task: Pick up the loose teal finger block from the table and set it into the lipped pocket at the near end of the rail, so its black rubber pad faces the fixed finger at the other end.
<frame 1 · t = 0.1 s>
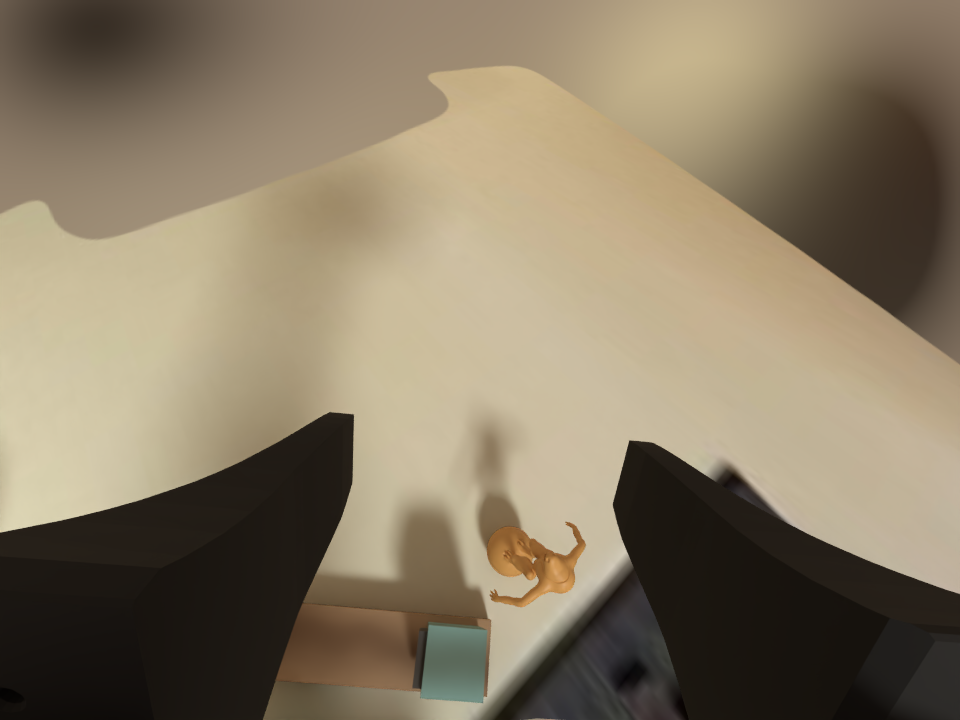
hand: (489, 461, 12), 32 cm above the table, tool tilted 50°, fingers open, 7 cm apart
rail: (337, 642, 36), on the table
figurine: (513, 563, 40), on the table
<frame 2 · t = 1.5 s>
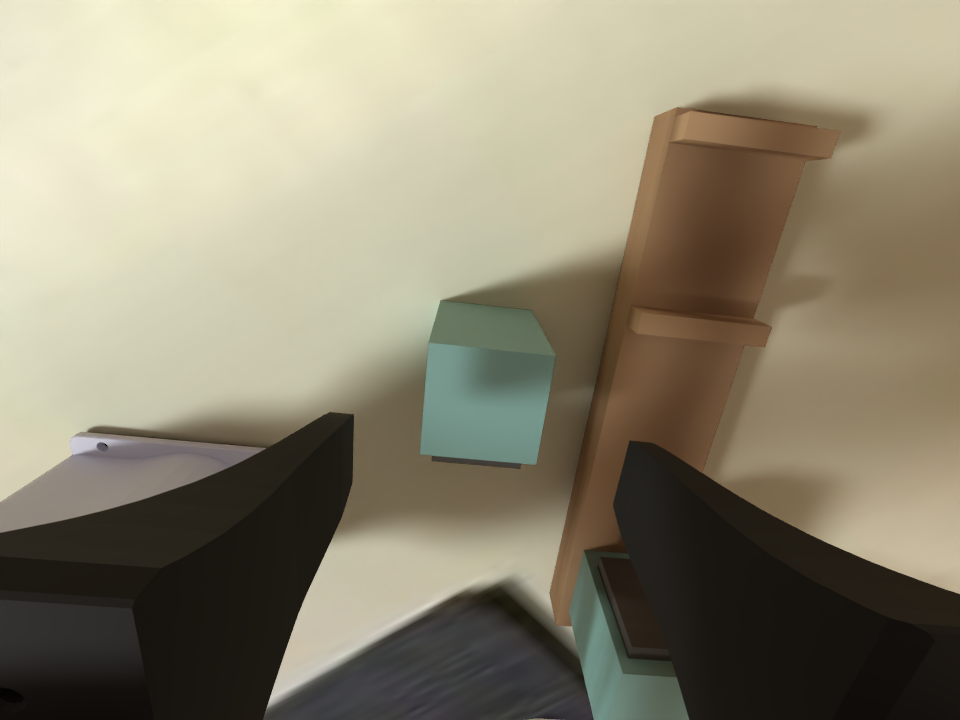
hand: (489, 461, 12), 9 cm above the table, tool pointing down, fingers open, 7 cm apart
finger block: (481, 348, 20), on the table
rail: (643, 405, 21), on the table
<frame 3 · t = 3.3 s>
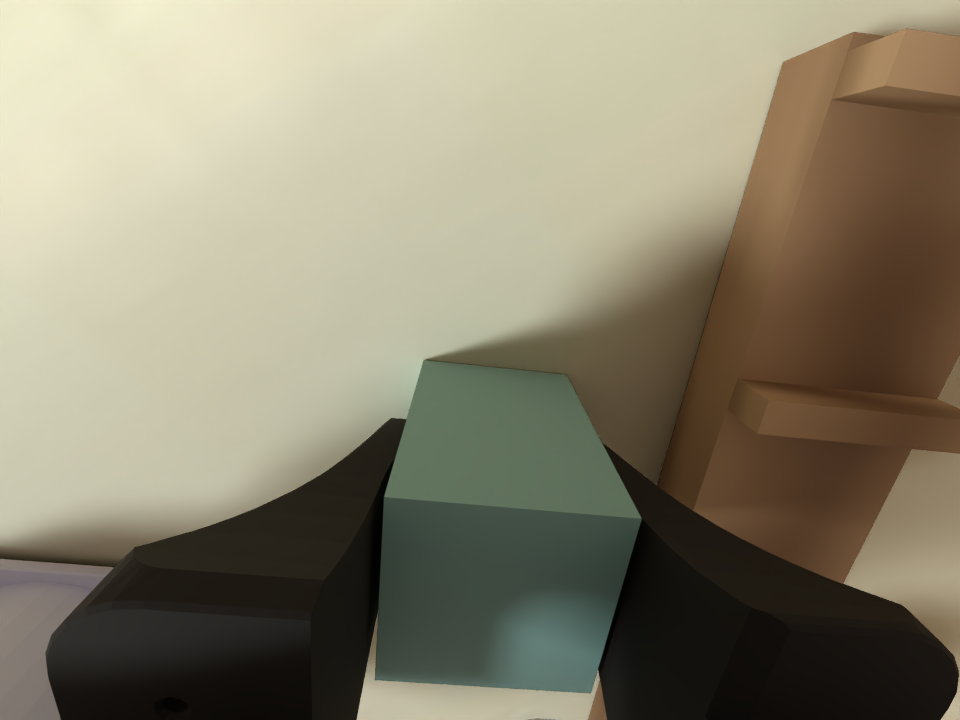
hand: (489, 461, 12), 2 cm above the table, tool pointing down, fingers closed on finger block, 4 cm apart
finger block: (486, 430, 13), on the table, touching gripper
rail: (728, 509, 14), on the table
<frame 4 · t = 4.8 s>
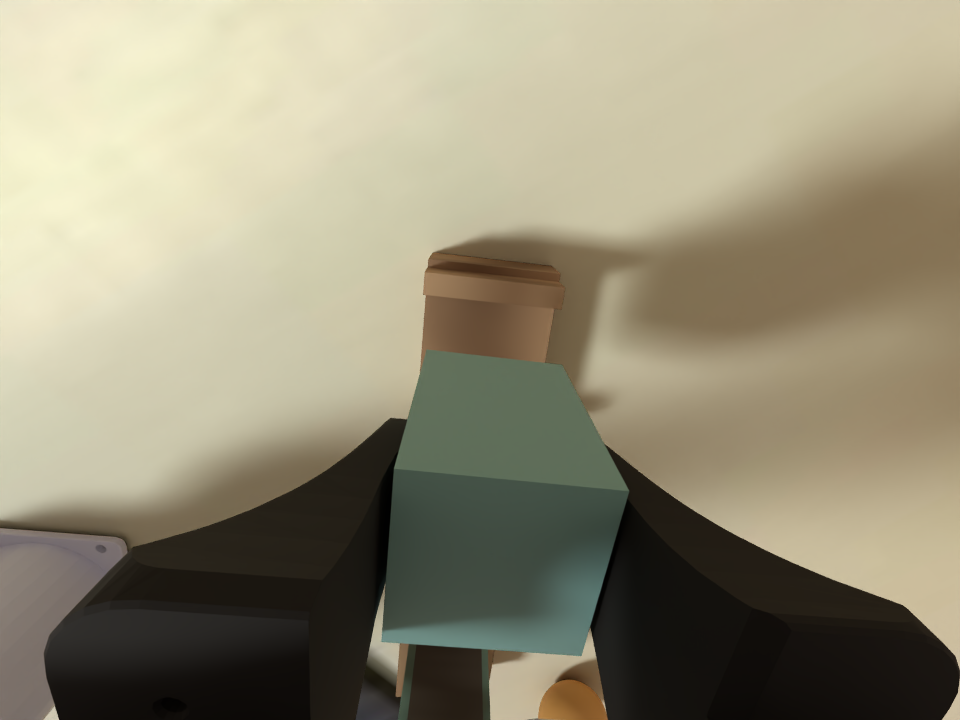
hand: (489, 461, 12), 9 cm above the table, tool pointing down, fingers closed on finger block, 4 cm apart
finger block: (485, 417, 14), point 7 cm above the table, touching gripper
rail: (463, 497, 23), on the table
figurine: (551, 690, 28), on the table
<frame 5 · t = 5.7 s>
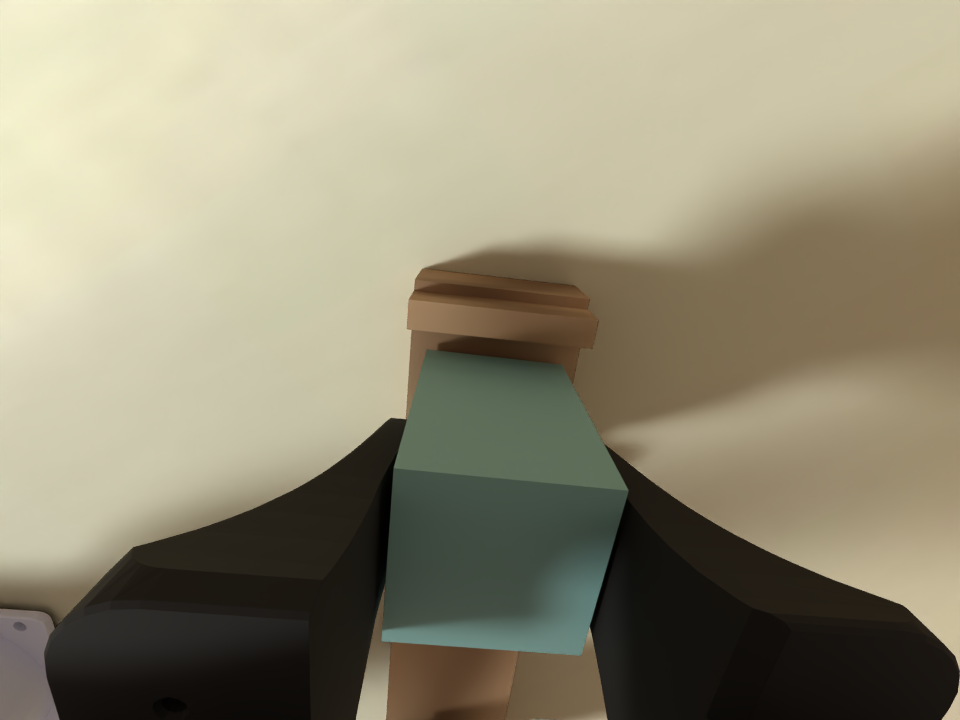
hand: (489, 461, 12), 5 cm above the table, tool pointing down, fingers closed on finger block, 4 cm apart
finger block: (486, 417, 14), point 2 cm above the table, touching gripper
rail: (462, 564, 19), on the table
when the fingers open (5 cm above the table, at t = 6.3 s): finger block stays where it is, resting on rail.
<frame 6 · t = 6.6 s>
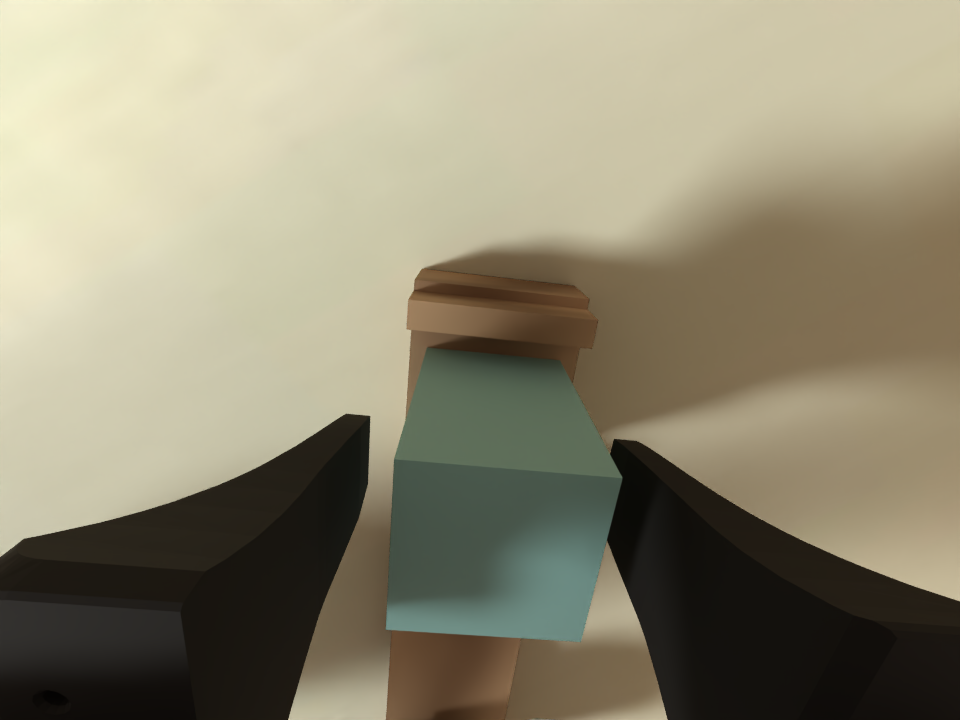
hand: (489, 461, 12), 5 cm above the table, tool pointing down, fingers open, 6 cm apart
finger block: (486, 413, 14), point 2 cm above the table, touching rail
rail: (461, 564, 19), on the table
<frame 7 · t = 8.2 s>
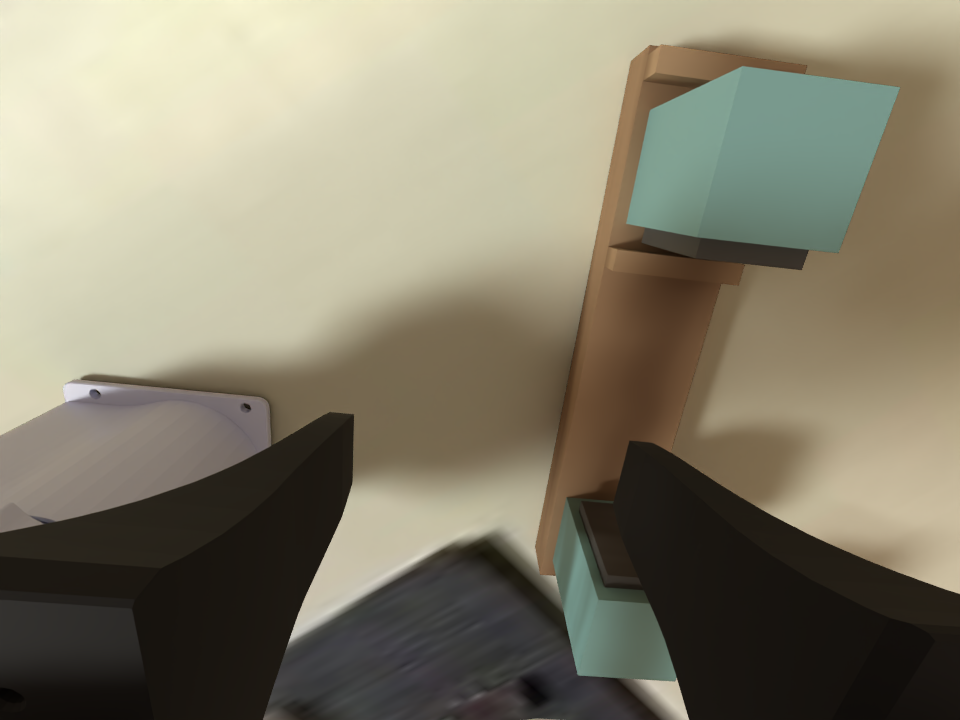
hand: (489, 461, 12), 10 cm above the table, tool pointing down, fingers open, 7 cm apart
finger block: (688, 175, 17), point 2 cm above the table, touching rail
rail: (624, 355, 22), on the table
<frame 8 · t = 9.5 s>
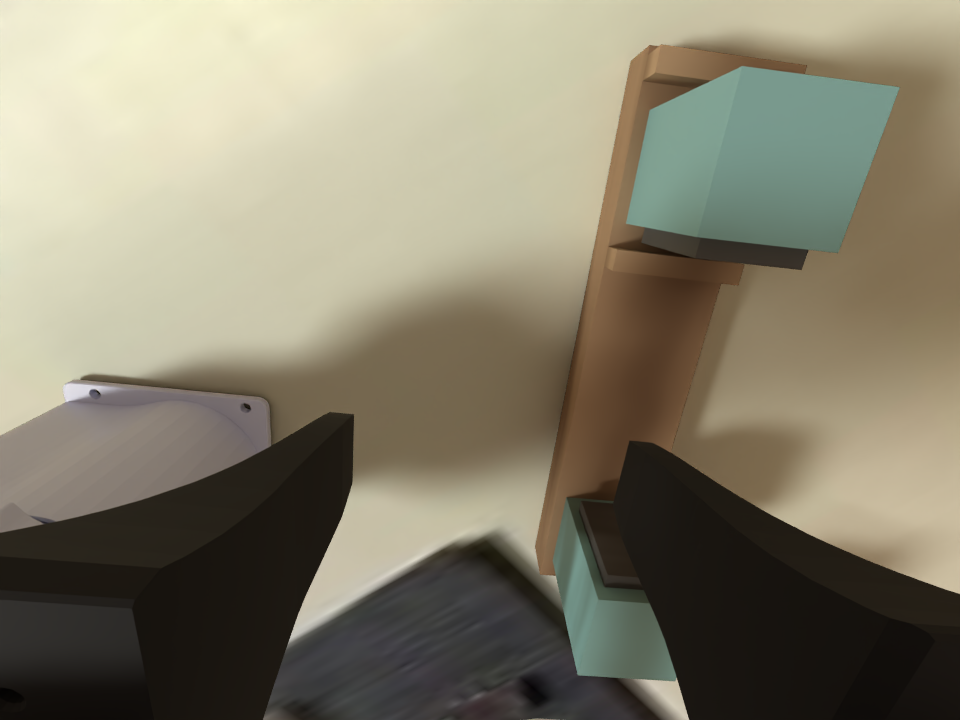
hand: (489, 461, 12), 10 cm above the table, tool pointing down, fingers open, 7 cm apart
finger block: (688, 175, 17), point 2 cm above the table, touching rail
rail: (624, 354, 22), on the table
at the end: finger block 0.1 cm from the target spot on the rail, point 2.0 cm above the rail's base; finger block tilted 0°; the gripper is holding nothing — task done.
